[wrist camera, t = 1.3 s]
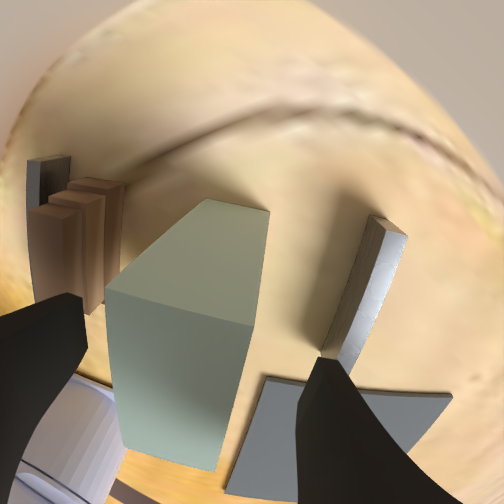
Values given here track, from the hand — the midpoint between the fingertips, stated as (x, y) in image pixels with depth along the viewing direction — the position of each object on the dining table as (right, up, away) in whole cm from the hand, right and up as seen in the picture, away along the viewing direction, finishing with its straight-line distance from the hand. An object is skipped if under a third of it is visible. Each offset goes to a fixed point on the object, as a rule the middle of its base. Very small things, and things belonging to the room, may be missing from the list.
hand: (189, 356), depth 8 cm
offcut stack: (-6, +4, +7) cm, 10 cm away
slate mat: (+8, -14, +12) cm, 20 cm away
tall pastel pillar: (+1, +2, +7) cm, 7 cm away
